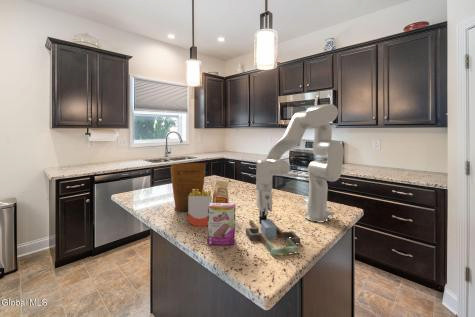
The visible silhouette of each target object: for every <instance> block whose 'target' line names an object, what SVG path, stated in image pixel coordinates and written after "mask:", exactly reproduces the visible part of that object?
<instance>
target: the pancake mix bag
mask: <svg viewBox="0 0 475 317" xmlns="http://www.w3.org/2000/svg"><path fill="white" fill-rule="evenodd" d="M170 175H171V176H170V178H171V186H172V192H173V193H172V194H173V200H174V211H175V212H179V213H182V212H183V213H185V212H187V213H188V196H189V194H190V193H192V189H196V191H197V189H199V190H198V192H201V195H202V190H203V189H204V187H205V175H206V163H203V162H189V163H173V164H172V165H171V166H170ZM196 191H195V194H196Z"/></svg>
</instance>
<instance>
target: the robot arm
mask: <svg viewBox="0 0 475 317" xmlns="http://www.w3.org/2000/svg"><path fill="white" fill-rule="evenodd" d="M338 110H339V109H338V107H337V106H336V105H334V104H332V103H326V104H325V103H324V104H318V105H312V106H310V107H308V108H307V109H306V110H301V111H298V112H295V113H294V114H293V116H292V118H291V119H290V122H289V124H288V125H287V127H286V130H285V132H284V134H283V136H282V138H280V139H279V140H278V141H277V142H276V143H275V144H274V145H273V146H272V148H270V150H269V152H268V154H267V156H266V158H265V159H259V160H257V162H256V172H255V173H256V174H255V176H256V177H255V178H256V179H255V180H256V181H255V190H256V207H257V208H258V211H259V212H258V213H259V216H258V217H259V218H258V219H259V220H258V221H259V222H258V223H259V225H260V226H261V220H267V219H268V216H269V212H273V193H272V191H273V176H277V177H278V176H279V177H283V176H286V175H288V174H289V173H290V170H291V165H290V163H289V162H288V161H286V160H283V159H281V157H282V156H283V155H284V154H285V153H286V152H288V151H290V150H292V149H294V148H296V147H298V146H299V145H300V143H301V141H302V139H303V136H304V134H305V133H306V130H308V129H314V135H313V136H314V138H313V145H312V153H313V155H314V157H317V158H319V160H318V159H317V160H316V159H315V160H312V161H310V163H308V166H307V175H308V195H307V196H308V199H307V213H305V214H304V216H305V217H304V218H307V219H309V220H313V221H326V219H327V220H328V217H329V216H335V211H332V210H331V211H330V210H327V206H328V205H327V204H328V203H327V202H328V192H329V188H328V187H329V186H328V185H329V184H328V182H336V181H338V180H339V179H340V177H341V175H342V171H343V170H342V169H343V162H344V157H345V156H344V152H345V151H344V146H343V143H342V142H340V141H339V140H334V139H332V136H333V129H332V126H331V124H330V123H331V122H334V121H335V120H336V119H337V117H338V114H339V111H338ZM321 159H326V160H321ZM307 219H306V220H307ZM309 220H308V221H309ZM313 221H312V222H313Z"/></svg>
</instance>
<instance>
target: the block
mask: <svg viewBox="0 0 475 317" xmlns="http://www.w3.org/2000/svg"><path fill="white" fill-rule="evenodd" d="M275 225H276V224H275V222H274V221H273V220H272V219H270V220H261V225H260V233H263V234H264V236H265V237H266V238H267V239H268V240H269V239H270V240H271V239H277V234H276V229H277V227H278V226H277V225H276V226H277V227H276V226H275Z"/></svg>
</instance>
